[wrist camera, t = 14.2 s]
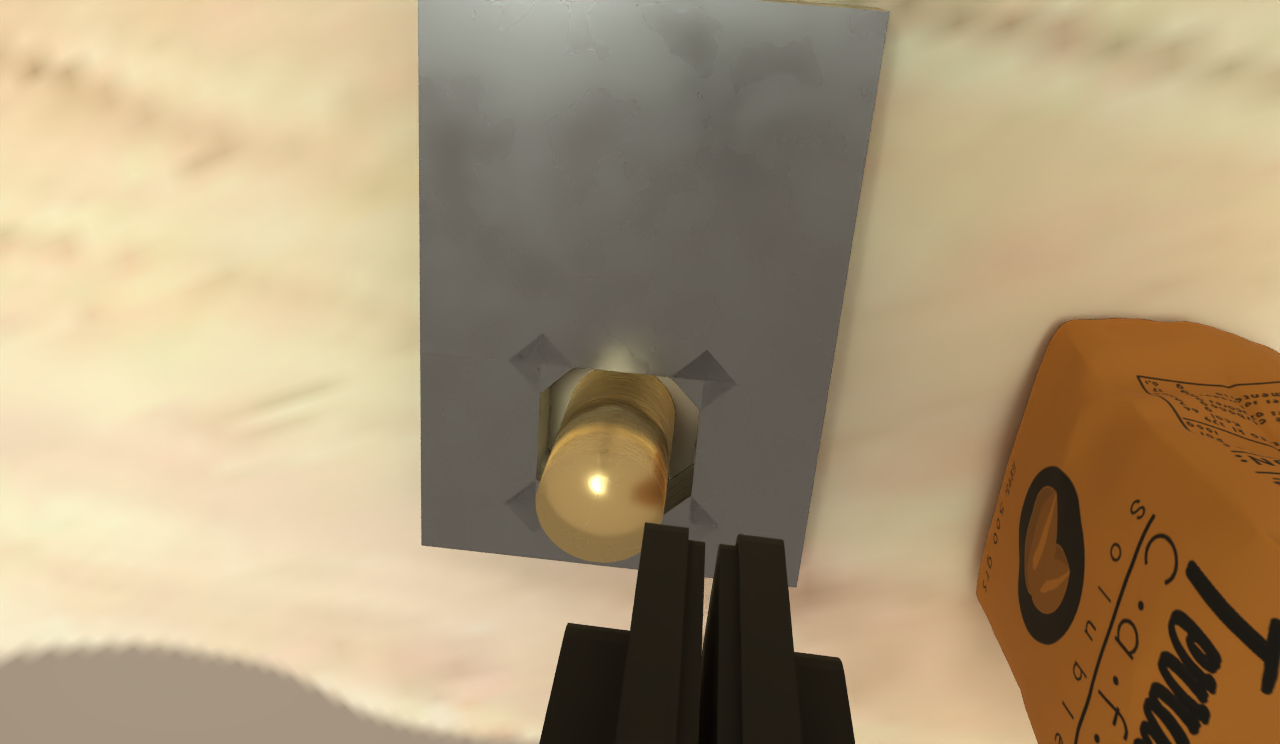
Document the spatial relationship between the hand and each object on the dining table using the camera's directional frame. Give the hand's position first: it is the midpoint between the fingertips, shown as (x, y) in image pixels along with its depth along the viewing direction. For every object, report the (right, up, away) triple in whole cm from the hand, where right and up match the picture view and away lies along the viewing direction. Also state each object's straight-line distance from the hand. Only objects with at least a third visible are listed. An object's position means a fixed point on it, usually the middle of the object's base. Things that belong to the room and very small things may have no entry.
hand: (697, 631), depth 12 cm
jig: (-1, +6, +24) cm, 25 cm away
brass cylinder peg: (-1, +2, +26) cm, 26 cm away
